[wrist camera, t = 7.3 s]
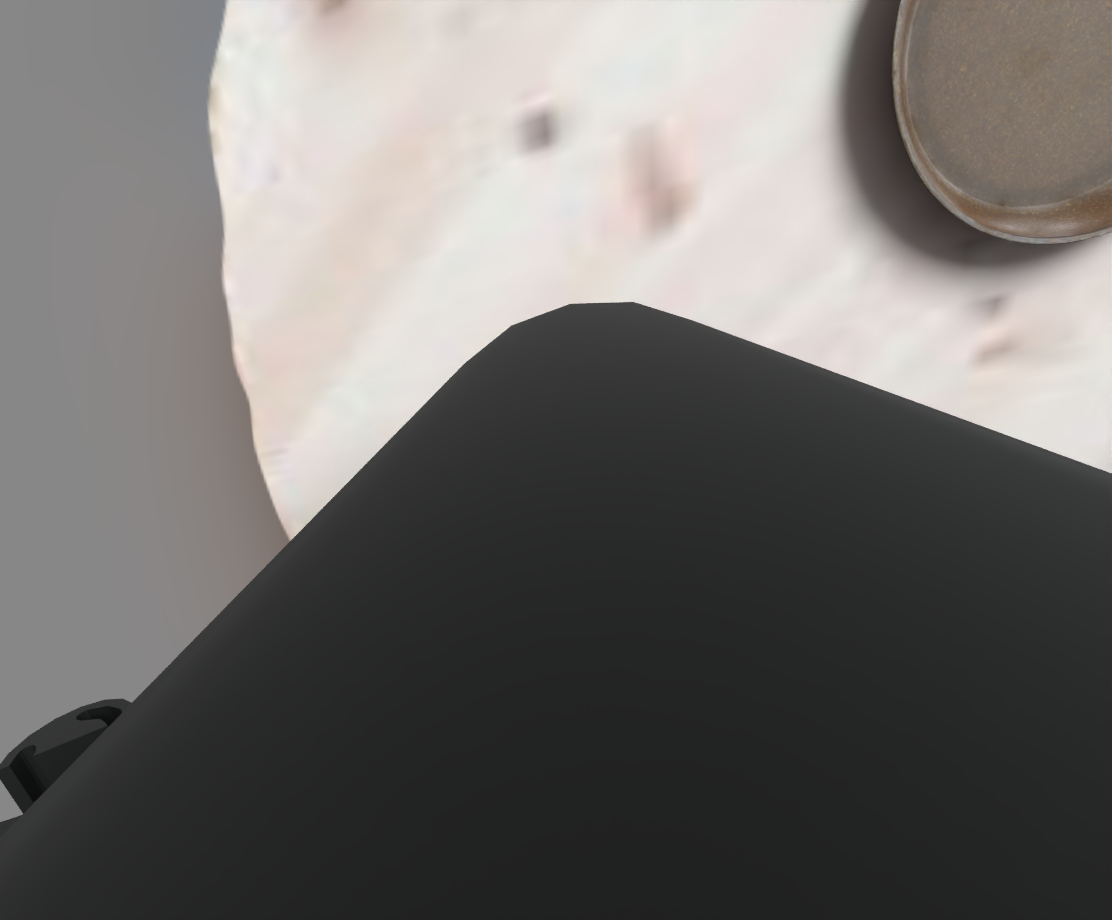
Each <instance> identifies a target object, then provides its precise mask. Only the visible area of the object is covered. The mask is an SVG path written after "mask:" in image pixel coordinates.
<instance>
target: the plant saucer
mask: <svg viewBox="0 0 1112 920" xmlns="http://www.w3.org/2000/svg"><path fill="white" fill-rule="evenodd" d="M892 89H893V99H894V108H895V114H896V119H897V124H898V127H899V131H900V135H901V138H902V141H903V144H904V146H905V149H906V151H907V154H908V156H909V158H910V160H911V162H912V164H913V166H914V168H915V170H916V172H917V174H918V175H919V177H920V178H921V180H922V182H923V183H924V184H925V186H926V187H927V188H928V190H929V191H930V192H931V193H932V194H933V195H934V196H935V197H936V199H937V200H938V201H939V202H940V203H941V204H942V205H943V206H944V207H946V208H947V209H948V210H949V211H950V212H951V213H953V214H954V215H955V216H956V217H958V218H959V219H961V220H962V221H964V222H965V223H967V224H969V225H970V226H972V227H974V228H976V229H978V230H980V231H982V232H985V233H987V234H990V235H992V236H995V237H998V238H1002V239H1006V240H1010V241H1015V242H1021V243H1030V244H1056V243H1067V242H1073V241H1079V240H1084V239H1088V238H1092V237H1097V236H1100V235H1103V234H1106V233H1110V232H1112V0H901V1H900V5H899V9H898V15H897V20H896V26H895V33H894V41H893V54H892Z"/></svg>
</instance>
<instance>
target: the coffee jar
mask: <svg viewBox="0 0 1112 920" xmlns="http://www.w3.org/2000/svg"><path fill="white" fill-rule="evenodd" d="M0 920H1112V474H1111V473H1108V472H1106V471H1103V470H1100V469H1097V468H1095V467H1092V466H1089V465H1086V464H1084V463H1081V462H1078V461H1076V460H1073V459H1070V458H1067V457H1065V456H1062V455H1059V454H1056V453H1054V452H1051V451H1048V450H1045V449H1043V448H1040V447H1037V446H1034V445H1032V444H1029V443H1026V442H1024V441H1021V440H1018V439H1015V438H1013V437H1010V436H1007V435H1004V434H1002V433H999V432H996V431H993V430H991V429H988V428H985V427H982V426H980V425H977V424H974V423H972V422H969V421H966V420H963V419H961V418H958V417H955V416H952V415H950V414H947V413H944V412H941V411H939V410H936V409H933V408H930V407H928V406H925V405H922V404H919V403H917V402H914V401H911V400H909V399H906V398H903V397H900V396H898V395H895V394H892V393H889V392H887V391H884V390H881V389H878V388H876V387H873V386H870V385H867V384H865V383H862V382H859V381H857V380H854V379H851V378H848V377H846V376H843V375H840V374H837V373H835V372H832V371H829V370H826V369H824V368H821V367H818V366H815V365H813V364H810V363H807V362H805V361H802V360H799V359H796V358H794V357H791V356H788V355H785V354H783V353H780V352H777V351H774V350H772V349H769V348H766V347H763V346H761V345H758V344H755V343H752V342H750V341H747V340H744V339H742V338H739V337H736V336H733V335H731V334H728V333H725V332H722V331H720V330H717V329H714V328H711V327H709V326H706V325H703V324H700V323H698V322H695V321H692V320H689V319H686V318H683V317H679V316H676V315H673V314H670V313H667V312H664V311H660V310H657V309H654V308H651V307H648V306H644V305H641V304H638V303H635V302H622V303H586V304H569V305H566V306H563V307H561V308H558V309H555V310H553V311H550V312H547V313H545V314H542V315H539V316H536V317H534V318H531V319H528V320H526V321H523V322H520V323H517V324H515V325H512V326H510V327H509V328H508V329H507V330H506V331H504V332H503V333H502V334H501V335H499V336H498V337H497V338H496V339H494V340H493V341H492V342H491V343H489V344H488V345H487V346H486V347H485V348H483V349H482V350H481V351H480V352H478V353H477V354H476V355H475V356H473V357H472V358H471V359H470V360H468V361H467V362H466V363H465V364H464V365H463V366H462V367H461V368H460V369H459V370H458V371H457V372H456V373H455V374H454V375H453V376H452V377H451V378H450V379H449V380H448V381H447V382H446V383H445V384H444V385H443V386H442V387H441V388H440V389H439V390H438V391H437V392H436V393H435V394H434V395H433V396H432V397H431V398H430V399H429V400H428V401H427V402H426V404H425V405H424V406H423V407H422V408H421V409H420V410H419V411H418V412H417V413H416V414H415V415H414V416H413V417H412V418H411V419H410V420H409V421H408V422H407V423H406V424H405V425H404V426H403V427H402V428H401V429H400V430H399V431H398V432H397V433H396V434H395V435H394V436H393V437H392V438H391V439H390V440H389V441H388V442H387V443H386V444H385V445H384V446H383V447H382V448H381V449H380V450H379V451H378V452H377V453H376V455H375V456H374V457H373V458H372V459H371V460H370V461H369V462H368V463H367V464H366V465H365V466H364V467H363V468H362V469H361V470H360V471H359V472H358V473H357V474H356V475H355V476H354V477H353V478H352V479H351V480H350V481H349V482H348V483H347V484H346V485H345V486H344V487H343V488H342V489H341V490H340V491H339V492H338V493H337V494H336V495H335V496H334V497H333V498H332V499H331V500H330V501H329V502H328V503H327V504H326V506H325V507H324V508H323V509H322V510H321V511H320V512H319V513H318V514H317V515H316V516H315V517H314V518H313V519H312V520H311V521H310V522H309V523H308V524H307V525H306V526H305V527H304V528H303V529H302V530H301V531H300V532H299V533H298V534H297V535H296V536H295V537H294V538H293V539H292V540H291V541H290V542H289V543H288V544H287V546H285V547H284V548H283V549H282V550H281V552H279V553H278V555H277V556H276V557H275V558H274V559H273V560H272V561H271V562H270V563H269V564H268V565H267V566H266V567H265V568H264V569H263V570H262V571H261V572H260V573H259V574H258V575H257V576H256V577H255V578H254V579H253V580H252V581H251V582H250V583H249V584H248V585H247V586H246V587H245V588H244V589H243V590H242V591H241V592H240V593H239V594H238V595H237V596H236V597H235V598H234V600H233V601H231V603H230V604H228V605H227V607H226V608H225V609H224V610H223V611H222V612H221V613H220V614H219V615H218V616H217V617H216V618H215V619H214V620H213V621H212V622H211V623H210V624H209V625H208V626H207V627H206V628H205V629H204V630H203V631H202V632H201V633H200V634H199V635H198V636H197V637H196V638H195V639H194V640H193V641H192V642H191V643H190V644H189V645H188V646H187V647H186V648H185V649H184V650H183V652H181V653H180V654H179V655H178V657H177V658H176V659H175V660H174V661H173V662H172V663H171V664H170V665H169V666H168V667H167V668H166V669H165V670H164V671H163V672H162V673H161V674H160V675H159V676H158V677H157V678H156V679H155V680H154V681H153V682H152V683H151V684H150V685H149V686H148V687H147V688H146V689H145V690H144V691H143V692H142V693H141V694H140V695H139V696H138V697H137V698H136V700H134V701H133V702H132V703H131V704H130V705H129V706H128V707H127V709H126V710H125V711H124V712H123V713H122V714H121V715H120V716H119V717H118V718H117V719H116V720H115V721H114V722H113V723H112V724H111V725H110V726H109V727H108V728H107V729H106V730H105V731H104V732H103V733H102V734H101V735H100V736H99V737H98V738H97V739H96V740H95V741H94V742H93V743H92V744H91V745H90V746H89V747H88V748H87V749H86V750H85V751H84V752H83V753H82V754H81V755H80V756H79V757H78V759H77V760H76V761H75V762H74V763H73V764H72V765H71V766H70V767H69V768H68V769H67V770H66V771H65V772H64V773H63V774H62V775H61V776H60V777H59V778H58V779H57V780H56V781H55V782H54V783H53V784H52V785H51V786H50V787H49V788H48V789H47V790H46V791H45V792H44V793H43V794H42V795H41V796H40V797H39V798H38V799H37V800H36V801H35V802H34V803H33V804H32V805H31V806H30V807H29V808H28V810H27V811H26V812H25V813H24V814H23V815H22V816H21V817H20V818H19V819H18V820H17V821H16V822H15V823H14V824H13V825H12V826H11V827H10V828H9V829H8V830H7V831H6V832H5V833H4V834H3V835H2V836H1V837H0Z"/></svg>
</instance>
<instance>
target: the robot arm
mask: <svg viewBox="0 0 1112 920" xmlns="http://www.w3.org/2000/svg"><path fill="white" fill-rule="evenodd" d="M130 704H131V702H129V701H126V700H124V699H111V700H102V701H99V702H96V703H92V704H89V705H86V706H82V707H80V708H78V709H76V710H73V711H71V712H69V713H67V714H65V715H63V716H61V717H59V718H56V719H54V720H53V721H51V722H50V723H48V724H47V725H45V726H43V727H42V728H40V729H39V730H37V731H36V732H34V733H32V734H31V735H30V736H28V737H27V738H26V739H25V740H24V741H22V742H21V743H20V744H19V745H18V746H17V747H15V748H14V749H13V750H12V751H11V752H10V753H9V754H8V755H7V756H6V757H5V759H4V760H3V761H2V763H1V764H0V780H1V781H2V783H3V784H4V786H5V787H6V789H7V790H8V791H9V793H10V795H11V796H12V798H13V799H14V801H15V802H16V803H17V805H18V806H19V808H20V809H21V811H22V812H23V814H24V813H25V812H26V811H27V810H28V808H29V807H30V806H31V805H32V804H33V803H34V802H35V801H36V800H37V799H38V798H39V797H40V796H41V795H42V794H43V793H44V792H45V791H46V790H47V789H48V788H49V787H50V786H51V785H52V784H53V783H54V782H55V781H56V780H57V779H58V778H59V777H60V776H61V775H62V774H63V773H64V772H65V771H66V770H67V769H68V768H69V767H70V766H71V765H72V764H73V763H74V762H75V761H76V760H77V759H78V757H79V756H80V755H81V754H82V753H83V752H84V751H85V750H86V749H87V748H88V747H89V746H90V745H91V744H92V743H93V742H94V741H95V740H96V739H97V738H98V737H99V736H100V735H101V734H102V733H103V732H104V731H105V730H106V729H107V728H108V727H109V726H110V725H111V724H112V723H113V722H114V721H115V720H116V719H117V718H118V717H119V716H120V715H121V714H122V713H123V712H124V711H125V710H126V709H127V707H128V706H129V705H130ZM21 816H22V815H21ZM21 816H18V817H15V818H12V819H9V820H6V821H3V822H0V837H1V836H2V835H3V834H4V833H5V832H6V831H7V830H8V829H9V828H10V827H11V826H12V825H13V824H14V823H15V822H16V821H17V820H18V819H19V818H20V817H21Z"/></svg>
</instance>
